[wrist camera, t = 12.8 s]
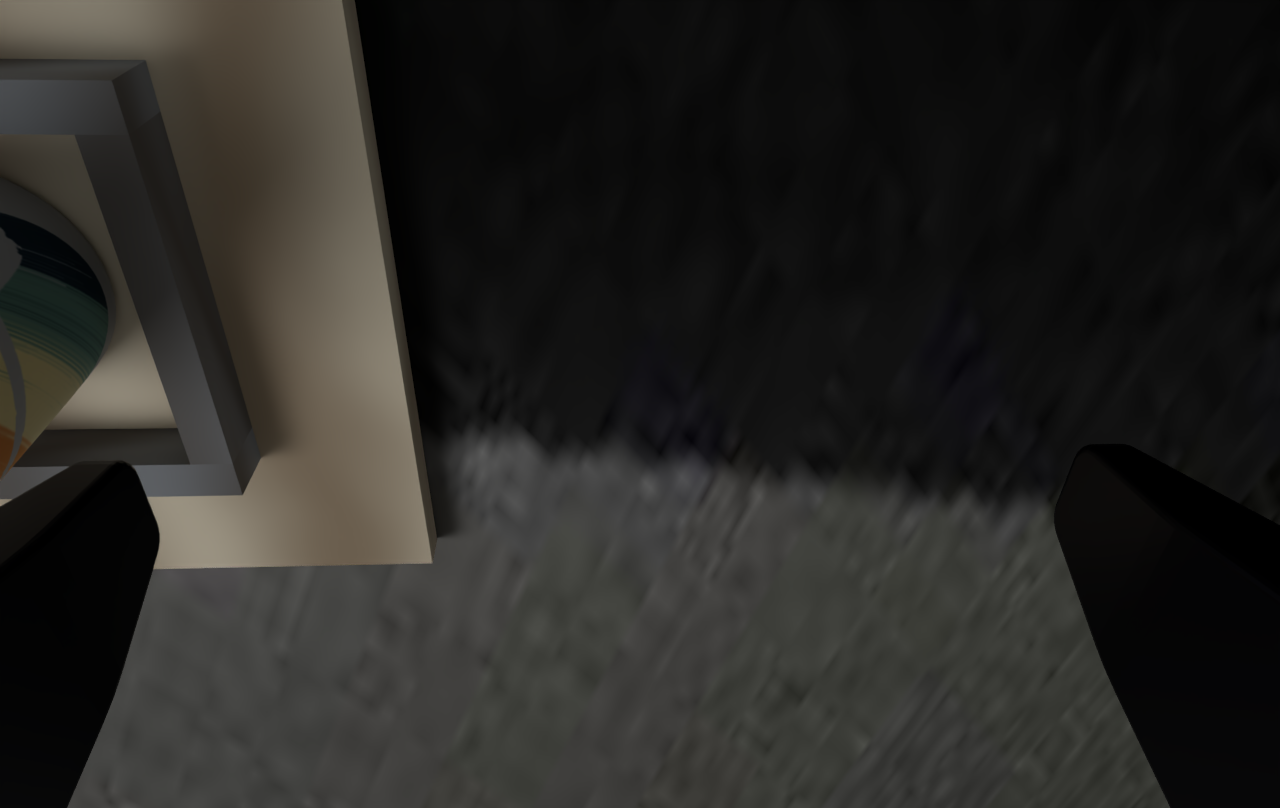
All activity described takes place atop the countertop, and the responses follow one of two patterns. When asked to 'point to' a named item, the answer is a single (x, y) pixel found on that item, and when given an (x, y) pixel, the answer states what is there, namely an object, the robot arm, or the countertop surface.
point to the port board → (226, 273)
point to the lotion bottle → (45, 317)
